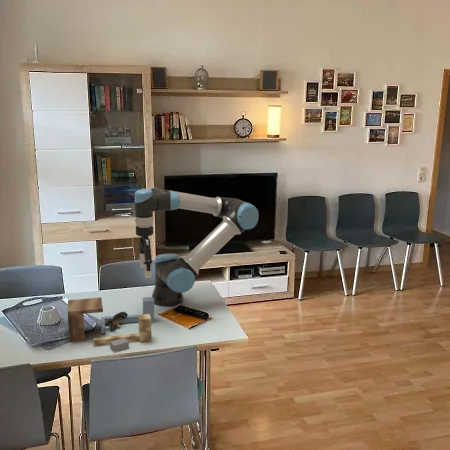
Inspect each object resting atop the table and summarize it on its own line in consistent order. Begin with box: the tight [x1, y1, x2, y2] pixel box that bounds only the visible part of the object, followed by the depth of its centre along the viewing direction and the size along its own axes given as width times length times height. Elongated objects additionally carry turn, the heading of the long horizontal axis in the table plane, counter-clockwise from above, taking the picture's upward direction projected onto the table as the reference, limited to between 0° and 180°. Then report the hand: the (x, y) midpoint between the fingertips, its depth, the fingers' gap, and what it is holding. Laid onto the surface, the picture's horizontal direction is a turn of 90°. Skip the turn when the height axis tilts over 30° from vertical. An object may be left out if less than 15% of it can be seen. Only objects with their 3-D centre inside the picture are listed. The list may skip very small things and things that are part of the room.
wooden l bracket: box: [67, 296, 104, 343], centre depth 204 cm, size 14×12×13 cm
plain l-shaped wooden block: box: [93, 313, 152, 347], centre depth 198 cm, size 22×4×10 cm, turn 107°
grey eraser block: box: [109, 338, 130, 353], centre depth 194 cm, size 6×4×3 cm, turn 127°
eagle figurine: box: [105, 311, 129, 332], centre depth 211 cm, size 8×7×9 cm
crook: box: [100, 296, 155, 334], centre depth 212 cm, size 22×12×10 cm, turn 104°
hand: (145, 272), depth 218 cm, fingers open, 13 cm apart
